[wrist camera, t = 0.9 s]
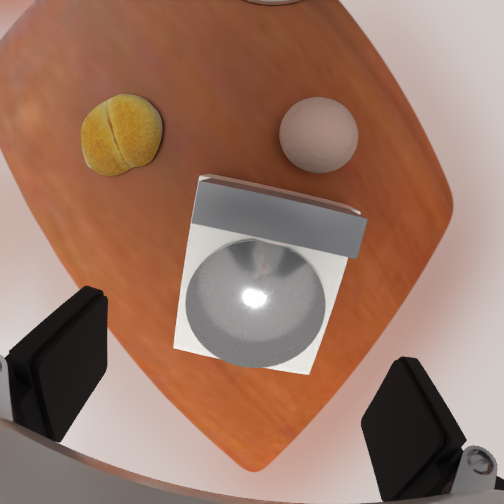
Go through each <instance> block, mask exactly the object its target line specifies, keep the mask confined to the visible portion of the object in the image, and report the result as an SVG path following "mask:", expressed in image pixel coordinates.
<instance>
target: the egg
mask: <svg viewBox="0 0 504 504" xmlns="http://www.w3.org/2000/svg"><path fill="white" fill-rule="evenodd" d="M279 139H280V144H281V147H282V149H283V152H284V153H285V155H286V156H287V158H288V159H289V160H290V161H291V162H292V163H293V164H294V165H295V166H297V167H298V168H300V169H302V170H304V171H307V172H312V173H327V172H333V171H335V170H337V169H339V168H341V167H342V166H344V165H345V164H346V163H347V162H348V161H349V160H350V159H351V157H352V156H353V154H354V152H355V150H356V148H357V143H358V129H357V124H356V122H355V120H354V118H353V116H352V114H351V113H350V112H349V111H348V110H347V109H346V107H344V106H343V105H342V104H340V103H339V102H337V101H335V100H333V99H329V98H325V97H311V98H307V99H303V100H301V101H299V102H298V103H296V104H294V105H293V106H292V107H291V108H290V109H289V110H288V111H287V112H286V114H285V116H284V118H283V120H282V122H281V125H280V130H279Z"/></svg>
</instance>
